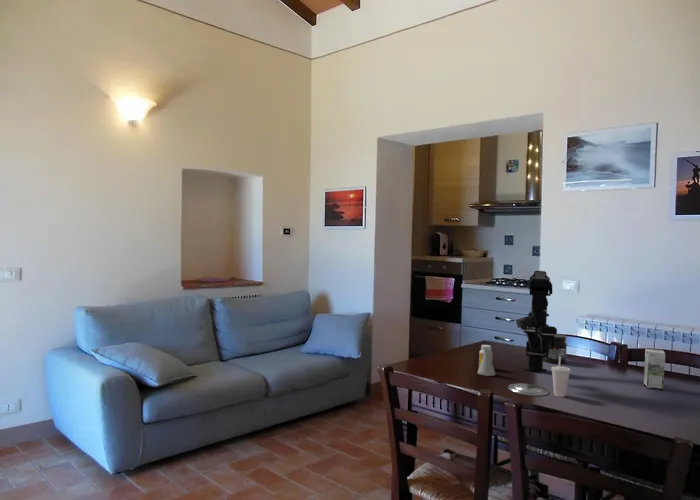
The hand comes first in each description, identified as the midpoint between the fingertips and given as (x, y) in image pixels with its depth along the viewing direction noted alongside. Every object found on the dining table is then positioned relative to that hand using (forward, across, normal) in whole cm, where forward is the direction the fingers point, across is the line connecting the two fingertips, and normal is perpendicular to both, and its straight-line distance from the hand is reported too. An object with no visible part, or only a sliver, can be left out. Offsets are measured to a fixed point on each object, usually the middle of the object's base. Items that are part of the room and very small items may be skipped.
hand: (537, 350), depth 198 cm
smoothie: (+14, +15, +2) cm, 20 cm away
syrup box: (+11, +3, +45) cm, 47 cm away
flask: (+12, -12, -15) cm, 23 cm away
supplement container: (+8, -36, +25) cm, 45 cm away
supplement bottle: (+11, -22, -12) cm, 27 cm away
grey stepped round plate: (+14, +9, -7) cm, 18 cm away
